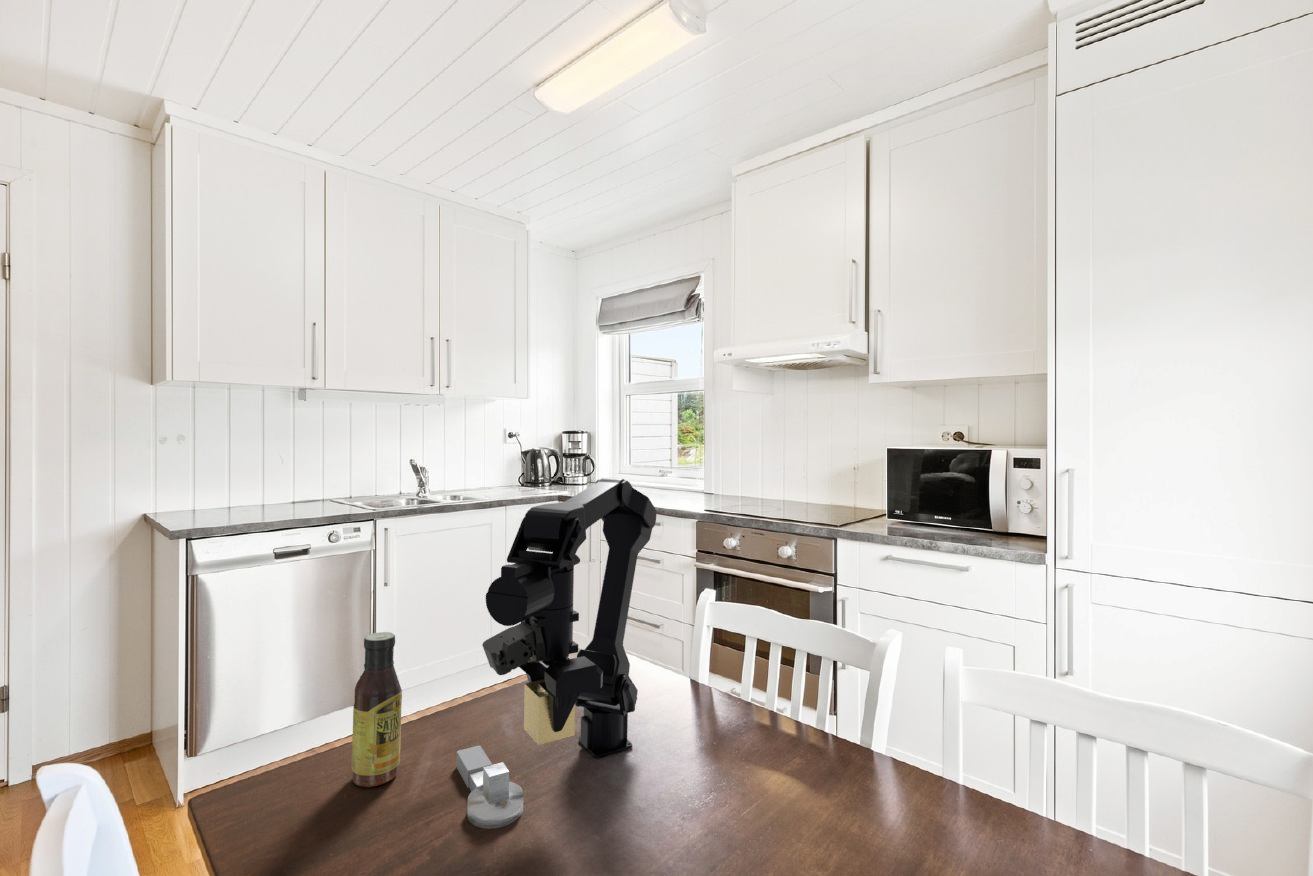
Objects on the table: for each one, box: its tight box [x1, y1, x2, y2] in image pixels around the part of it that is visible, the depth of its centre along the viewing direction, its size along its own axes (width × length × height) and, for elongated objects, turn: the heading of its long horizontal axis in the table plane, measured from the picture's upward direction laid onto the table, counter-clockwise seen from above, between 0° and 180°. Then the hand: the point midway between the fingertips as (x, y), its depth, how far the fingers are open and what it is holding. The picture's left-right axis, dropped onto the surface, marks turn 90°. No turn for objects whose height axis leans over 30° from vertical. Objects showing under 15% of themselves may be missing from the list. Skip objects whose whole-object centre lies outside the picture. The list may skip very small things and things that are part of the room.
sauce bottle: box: [350, 631, 403, 788], centre depth 88 cm, size 7×6×20 cm
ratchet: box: [455, 745, 524, 830], centre depth 85 cm, size 16×7×6 cm, turn 32°
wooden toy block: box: [523, 679, 576, 746], centre depth 82 cm, size 5×5×6 cm
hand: (549, 722), depth 82 cm, fingers closed on wooden toy block, 5 cm apart
